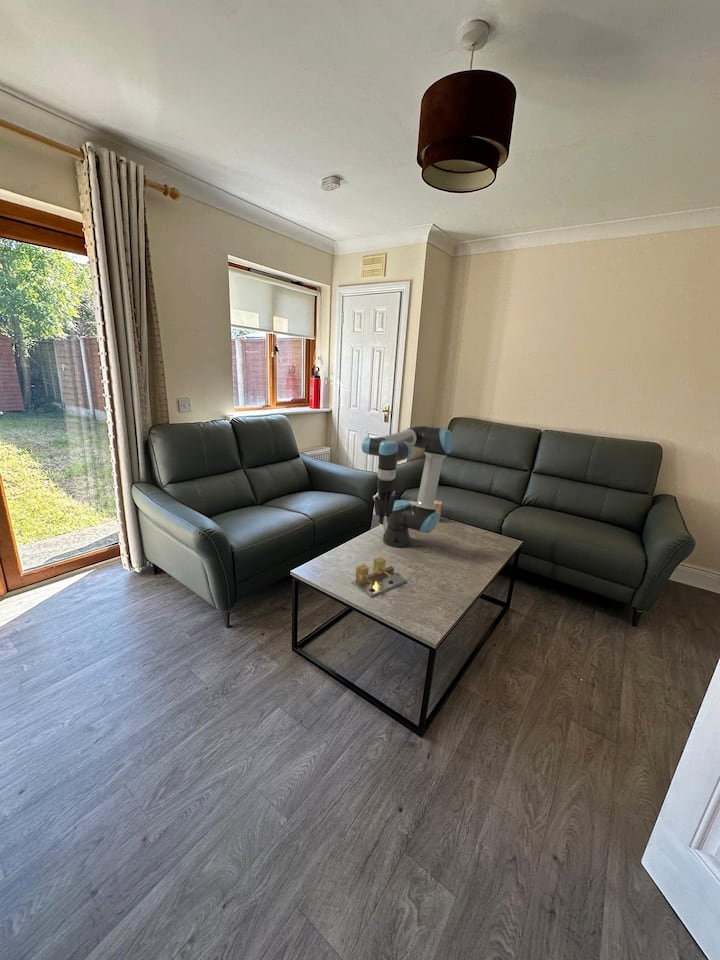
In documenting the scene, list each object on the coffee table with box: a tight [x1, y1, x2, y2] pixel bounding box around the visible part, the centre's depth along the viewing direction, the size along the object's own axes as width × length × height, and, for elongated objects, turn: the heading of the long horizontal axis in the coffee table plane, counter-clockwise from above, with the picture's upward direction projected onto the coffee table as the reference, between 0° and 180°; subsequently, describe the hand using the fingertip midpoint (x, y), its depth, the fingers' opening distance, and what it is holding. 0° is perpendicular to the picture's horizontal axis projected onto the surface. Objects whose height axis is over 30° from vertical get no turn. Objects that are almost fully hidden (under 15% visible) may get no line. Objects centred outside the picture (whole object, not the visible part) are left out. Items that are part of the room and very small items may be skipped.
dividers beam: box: [355, 563, 395, 589], centre depth 172 cm, size 10×21×8 cm, turn 129°
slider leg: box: [372, 556, 392, 582], centre depth 173 cm, size 10×4×8 cm, turn 39°
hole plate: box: [351, 571, 407, 598], centre depth 173 cm, size 13×21×1 cm, turn 129°
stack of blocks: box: [408, 499, 443, 523], centre depth 247 cm, size 21×6×12 cm, turn 72°
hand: (382, 529), depth 169 cm, fingers closed
